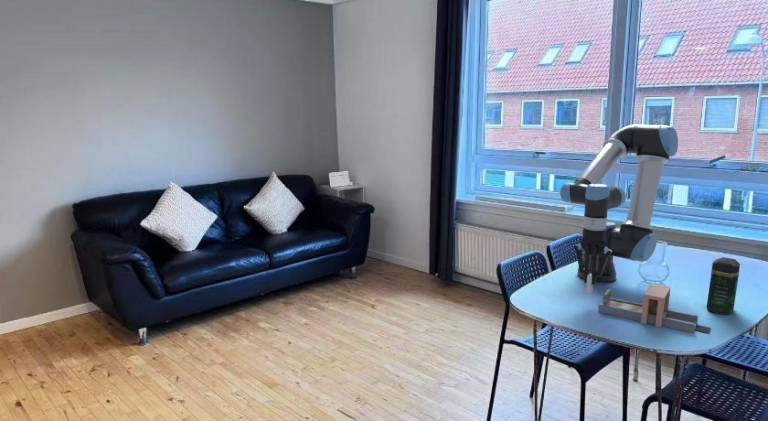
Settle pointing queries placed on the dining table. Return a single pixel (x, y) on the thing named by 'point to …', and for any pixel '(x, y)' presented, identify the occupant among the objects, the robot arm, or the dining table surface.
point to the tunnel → (658, 294)
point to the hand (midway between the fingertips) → (589, 292)
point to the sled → (651, 310)
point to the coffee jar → (723, 285)
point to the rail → (653, 316)
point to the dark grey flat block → (702, 329)
